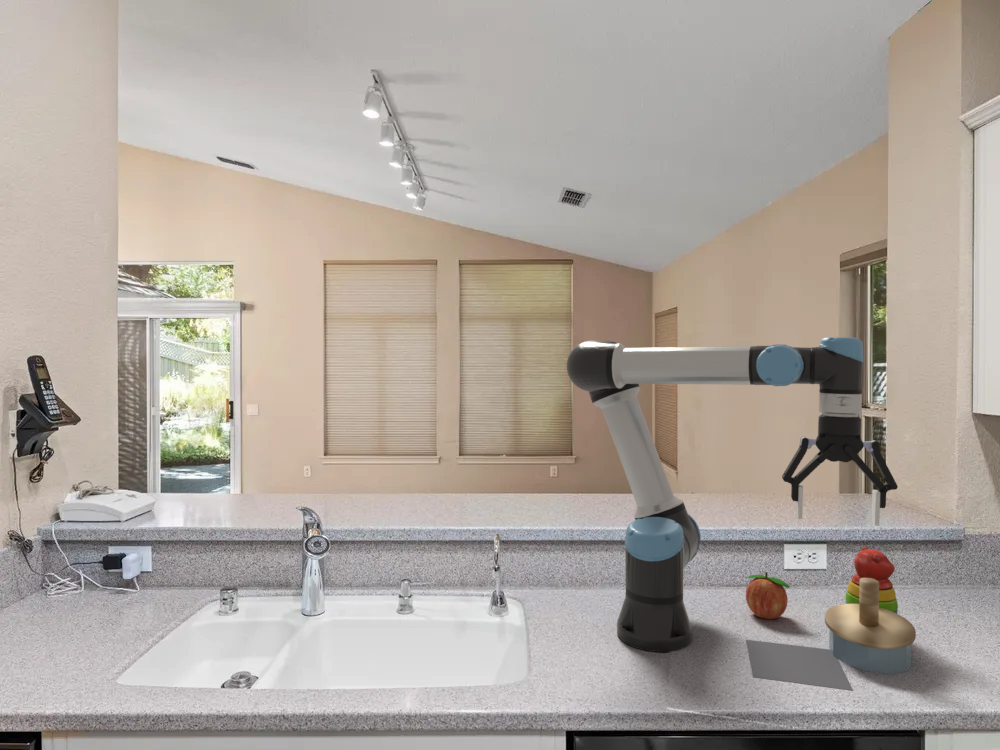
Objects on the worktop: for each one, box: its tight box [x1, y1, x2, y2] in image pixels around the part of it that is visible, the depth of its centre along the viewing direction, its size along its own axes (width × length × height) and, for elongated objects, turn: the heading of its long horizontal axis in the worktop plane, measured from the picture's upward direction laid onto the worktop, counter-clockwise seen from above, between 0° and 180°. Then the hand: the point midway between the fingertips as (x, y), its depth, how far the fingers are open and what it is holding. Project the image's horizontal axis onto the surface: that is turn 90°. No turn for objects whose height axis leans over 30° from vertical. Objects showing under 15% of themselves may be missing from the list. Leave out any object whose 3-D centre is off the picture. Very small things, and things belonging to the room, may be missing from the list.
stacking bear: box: [844, 546, 899, 614], centre depth 130 cm, size 11×10×18 cm
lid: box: [824, 578, 917, 649], centre depth 119 cm, size 15×15×9 cm
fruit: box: [745, 571, 791, 620], centre depth 140 cm, size 9×10×10 cm
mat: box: [745, 639, 854, 691], centre depth 117 cm, size 16×16×1 cm
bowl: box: [828, 629, 912, 675], centre depth 120 cm, size 13×13×5 cm
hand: (836, 520), depth 125 cm, fingers open, 13 cm apart
